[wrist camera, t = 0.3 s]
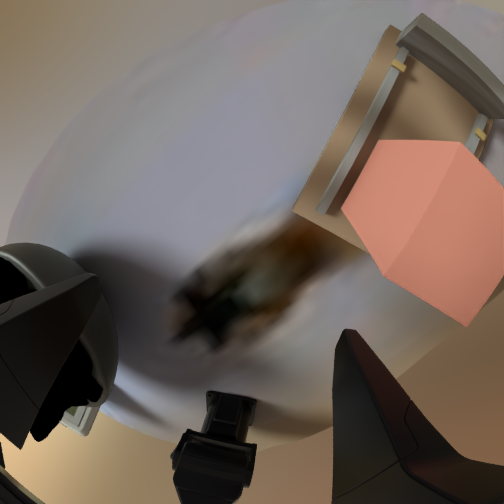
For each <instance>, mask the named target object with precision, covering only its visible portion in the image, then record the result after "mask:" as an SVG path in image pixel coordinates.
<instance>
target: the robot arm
mask: <svg viewBox="0 0 504 504" xmlns="http://www.w3.org/2000/svg"><path fill="white" fill-rule="evenodd" d="M101 294H102V293H101V288H100V283H99V278H98V276H97V275H95V274H92V273H86V274H83V275H80V276H77V277H74V278H71V279H69V280H66V281H63V282H60V283H57V284H54V285H52V286H49V287H46V288H43V289H40V290H38V291H35V292H32V293H29V294H27V295H24V296H21V297H19V298H16V299H15V300H14V299H13V300H10V301H8V302H5V303H2V304H0V433H1V434H2V435H4V436H5V437H6V438H7V439H8V440H9V441H11V442H12V443H13V444H14V445H15V446H16V447H18V448H19V449H20V450H21V449H22V447H23V445H24V442H25V440H26V438H27V435H28V433H29V431H30V429H31V426H32V424H33V422H34V420H35V418H36V416H37V414H38V412H39V409H40V407H41V405H42V403H43V401H44V399H45V397H46V395H47V393H48V392H49V390H50V388H51V386H52V384H53V382H54V380H55V379H56V377H57V375H58V373H59V371H60V370H61V368H62V366H63V364H64V363H65V361H66V359H67V357H68V356H69V354H70V352H71V351H72V349H73V347H74V346H75V344H76V342H77V341H78V339H79V338H80V336H81V334H82V333H83V331H84V329H85V328H86V326H87V324H88V322H89V320H90V318H91V316H92V314H93V312H94V310H95V308H96V306H97V304H98V303H99V301H100V299H101ZM332 399H333V487H332V504H504V466H501V465H495V464H489V463H485V462H479V461H475V460H471V459H468V458H465V457H464V456H462V455H461V454H459V453H458V452H457V451H456V450H455V449H454V448H453V447H452V446H451V445H450V444H449V443H448V442H447V441H446V439H445V438H444V437H443V436H442V435H441V434H440V433H439V432H438V431H437V430H436V429H435V428H434V426H433V425H432V424H431V423H430V422H429V421H428V420H427V419H426V417H425V416H424V415H423V414H422V412H421V411H420V410H419V409H418V407H417V406H416V405H415V404H414V402H413V401H412V400H410V397H409V396H408V395H407V393H406V392H405V391H404V389H403V388H402V387H401V385H400V384H399V383H398V382H397V380H396V379H395V378H394V377H393V375H392V374H391V373H390V371H389V370H388V369H387V368H386V366H385V365H384V364H383V363H382V361H381V360H380V359H379V358H378V356H377V355H376V354H375V353H374V351H373V350H372V349H371V348H370V347H369V345H368V344H367V343H366V342H365V340H364V339H363V338H362V337H361V336H360V334H359V333H358V332H357V331H356V330H353V329H344V330H343V332H342V334H341V336H340V338H339V341H338V343H337V345H336V348H335V358H334V373H333V387H332ZM206 402H207V414H206V417H205V420H204V423H203V426H202V429H201V432H196V431H193V430H192V429H187V430H186V432H185V433H183V435H182V437H181V440H180V442H179V444H178V445H177V447H176V448H175V449H174V451H173V452H172V453H171V456H170V458H171V459H172V464H173V465H172V469H173V470H174V471H175V473H174V476H173V482H174V485H175V488H176V491H177V494H178V497H179V500H180V503H181V504H235V503H236V502H237V501H238V500H239V498H240V496H241V494H242V491H243V487H245V488H249V486H250V483H251V479H252V475H253V470H254V463H255V456H256V449H257V444H254V443H253V444H250V443H245V442H246V437H247V433H248V428H249V426H251V425H252V423H253V418H254V413H255V408H256V403H257V401H256V400H254V399H249V398H243V397H237V396H232V395H227V394H222V393H217V392H213V391H207V394H206ZM0 504H45V503H44V502H42V501H41V500H40V499H39V498H37V497H36V496H35V495H33V494H32V493H31V492H30V491H28V490H27V489H26V488H25V487H23V486H22V485H21V484H20V483H19V482H18V481H17V480H15V479H14V478H13V477H12V476H11V475H10V474H9V473H8V472H7V471H6V470H5V464H4V460H3V453H2V447H1V442H0Z"/></svg>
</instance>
